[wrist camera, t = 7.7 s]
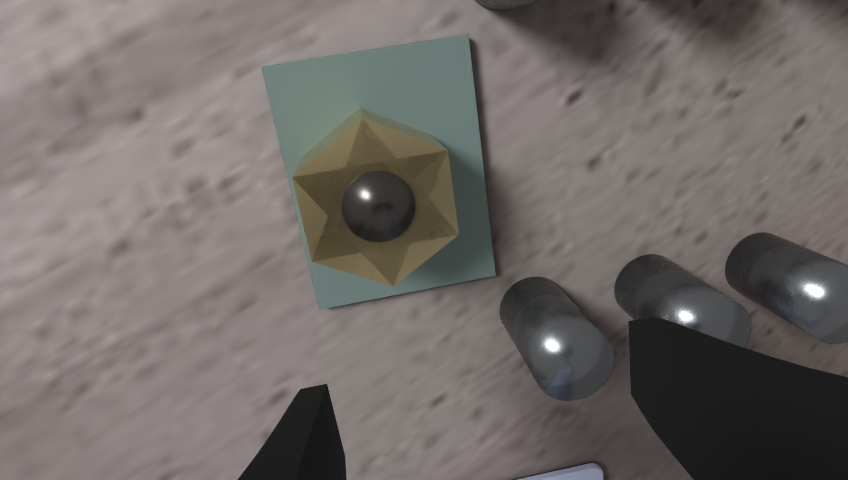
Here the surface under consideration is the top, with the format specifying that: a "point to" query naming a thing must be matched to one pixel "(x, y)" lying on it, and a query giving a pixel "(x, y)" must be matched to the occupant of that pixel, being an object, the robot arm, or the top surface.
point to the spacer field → (672, 303)
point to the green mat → (405, 103)
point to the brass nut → (376, 198)
